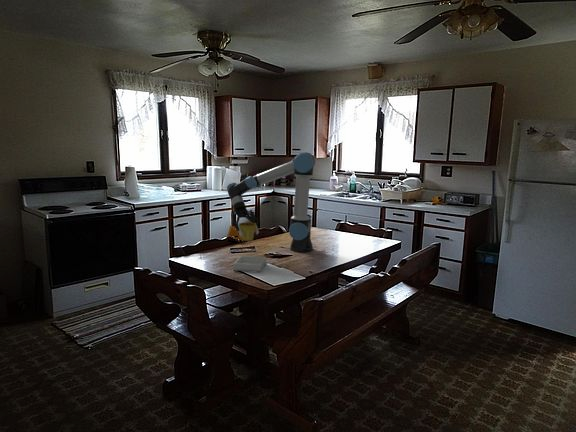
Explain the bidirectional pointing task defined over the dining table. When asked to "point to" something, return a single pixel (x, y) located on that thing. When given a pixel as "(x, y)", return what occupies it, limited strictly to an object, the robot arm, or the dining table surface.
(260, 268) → the tray
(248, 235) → the plant pot
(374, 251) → the dining table surface
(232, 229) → the orange irregular lump
